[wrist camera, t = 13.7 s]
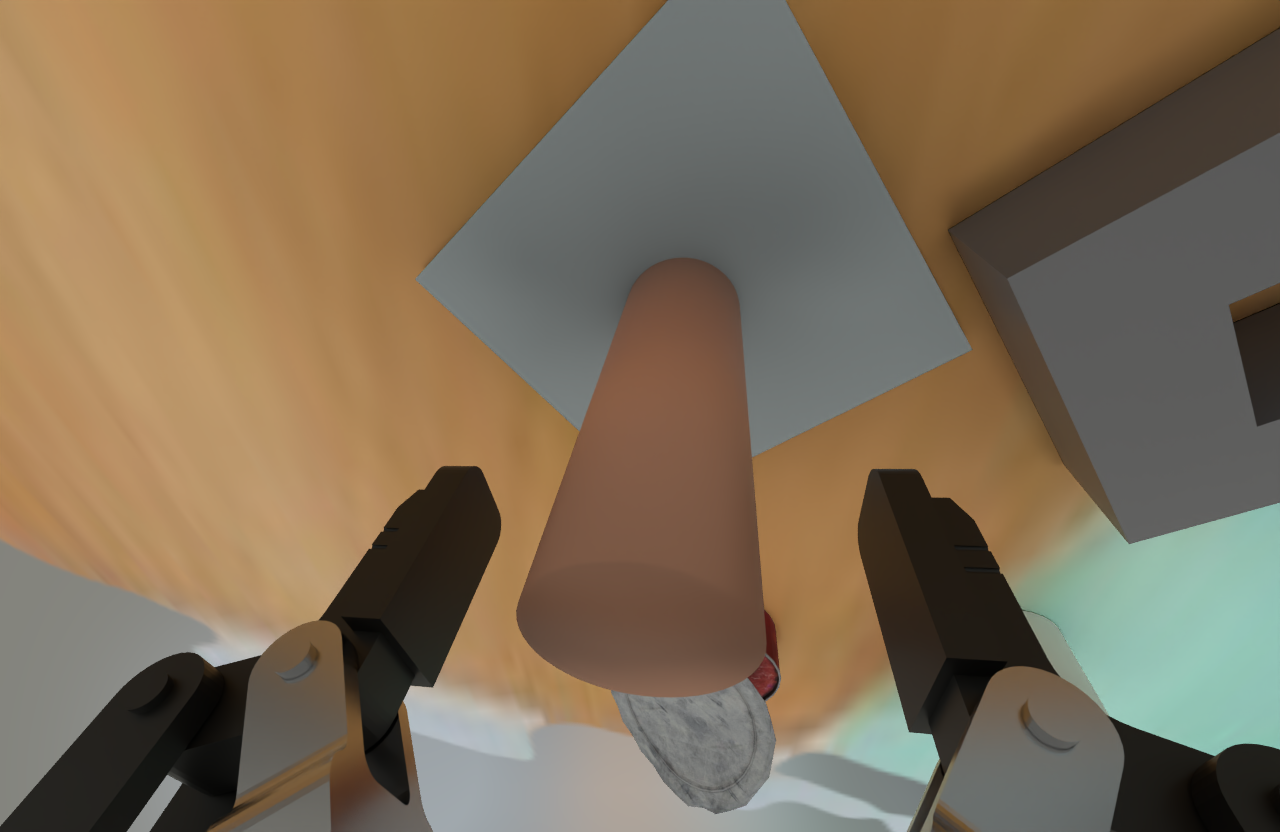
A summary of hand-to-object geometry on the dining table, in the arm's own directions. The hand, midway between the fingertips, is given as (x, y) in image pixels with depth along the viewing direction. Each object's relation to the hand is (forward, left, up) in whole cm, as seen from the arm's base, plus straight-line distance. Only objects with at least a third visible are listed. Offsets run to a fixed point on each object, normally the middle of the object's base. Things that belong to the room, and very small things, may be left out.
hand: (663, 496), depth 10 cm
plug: (0, 0, -9) cm, 9 cm away
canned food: (+13, +18, -10) cm, 24 cm away
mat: (0, 0, -10) cm, 10 cm away
